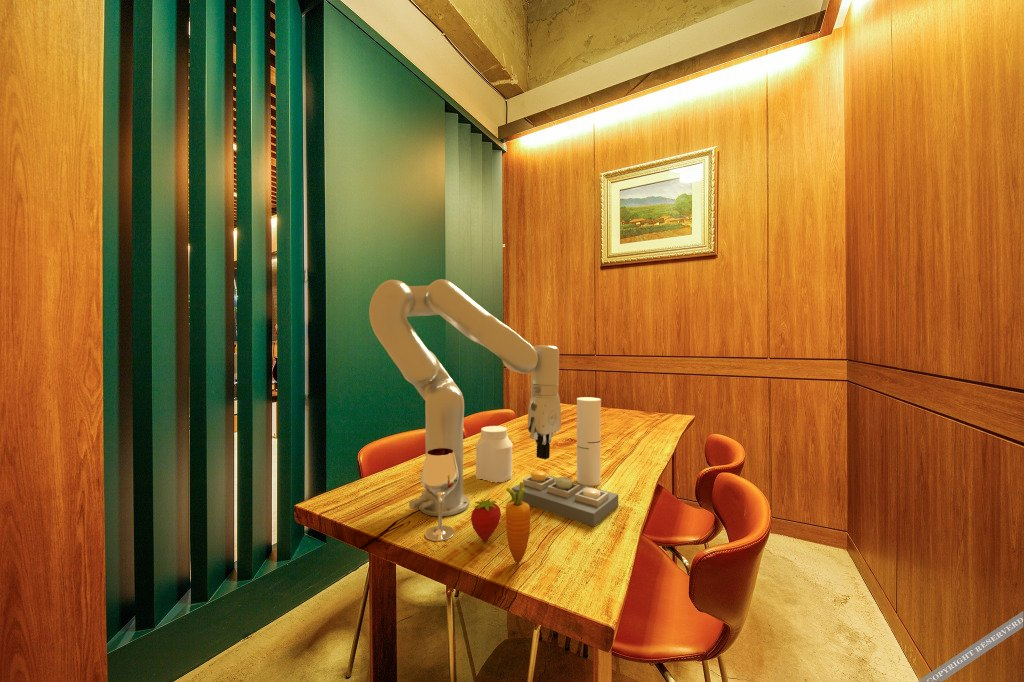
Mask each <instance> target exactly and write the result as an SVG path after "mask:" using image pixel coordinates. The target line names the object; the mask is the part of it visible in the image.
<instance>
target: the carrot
mask: <svg viewBox="0 0 1024 682" xmlns="http://www.w3.org/2000/svg"><path fill="white" fill-rule="evenodd" d="M519 484H520V487H519V494H518V498H517V493H514V491H513V490H512V489H511V488H509V487H506V491H507V493H509V495H510V497H511V499H512V498H513V500H512V501H511V502H508V503H507V504H506V506H505V528H506V529H505V530H506V538H507V544H508V549H509V551H510V555H511V556H512V559H513V560H514V562H515V563H516V564H520V563H521V562H522V560H523V559H524V556H525V554H526V551H527V548H528V545H529V544H528V542H529V538H530V530H531V509H530V507H531V506H530V505H528V504H527V503H525V502H523V501H522V498H523V494H524V492H525V489H524V483H523V481H520V482H519Z"/></svg>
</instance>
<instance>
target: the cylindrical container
mask: <svg viewBox="0 0 1024 682" xmlns="http://www.w3.org/2000/svg"><path fill="white" fill-rule="evenodd" d="M601 403H602V399H601V398H598V397H590V396H589V397H587V396H584V397H583V396H582V397H577V398H576V483H577V484H581V485H585V486H588V487H593V486H598V485H600V484H601V483H602V482H601V477H602V476H601V475H602V473H601V472H602V470H601V466H602V465H601V459H602V452H601V450H602V447H601V444H602V443H601V441H602V439H601V438H602V436H601V434H602V433H601V431H602V430H601V427H602V425H601V424H602V423H601V421H602V420H601V418H602V417H601V416H602V414H601V413H602V411H601V409H602V408H601V407H602V404H601Z"/></svg>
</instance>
